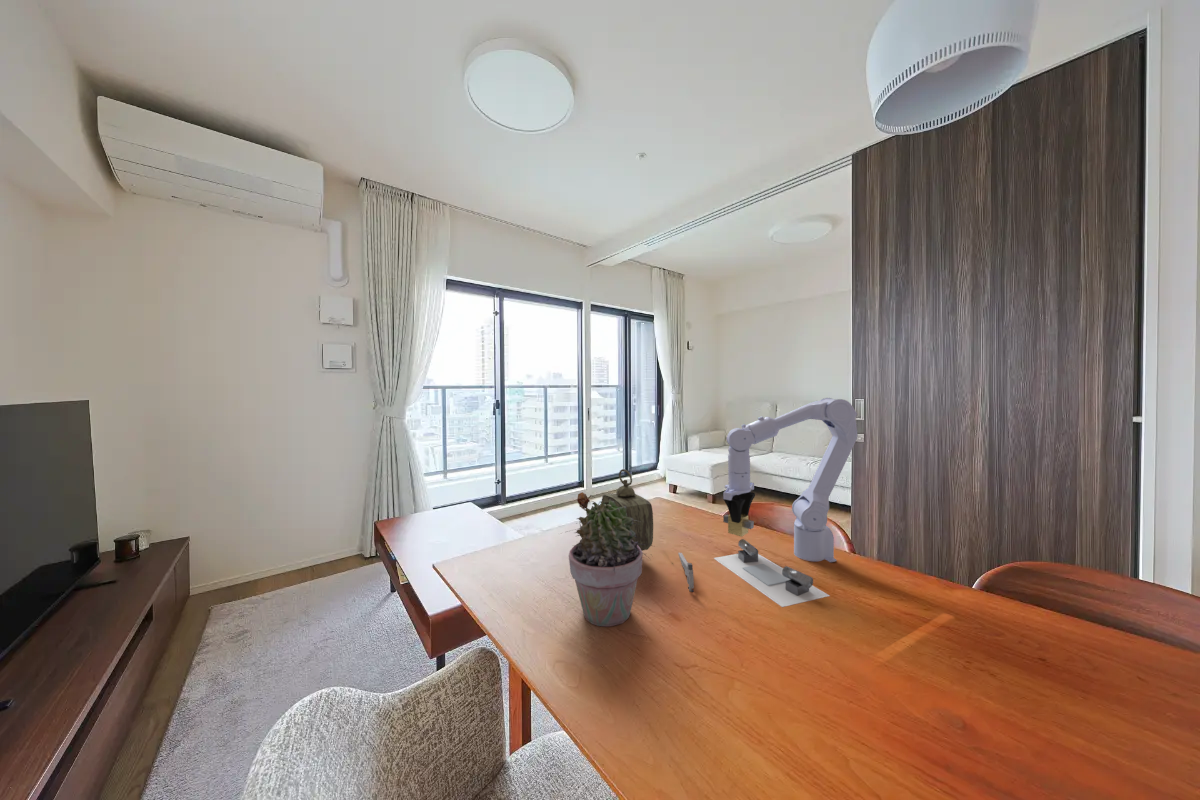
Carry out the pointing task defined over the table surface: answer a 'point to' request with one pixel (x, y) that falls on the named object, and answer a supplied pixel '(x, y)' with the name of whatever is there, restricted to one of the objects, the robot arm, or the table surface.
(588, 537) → the potted plant
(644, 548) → the tabletop clock
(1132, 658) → the table surface
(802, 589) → the shaft
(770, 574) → the bench
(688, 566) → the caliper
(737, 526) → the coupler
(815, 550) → the robot arm
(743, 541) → the shaft
